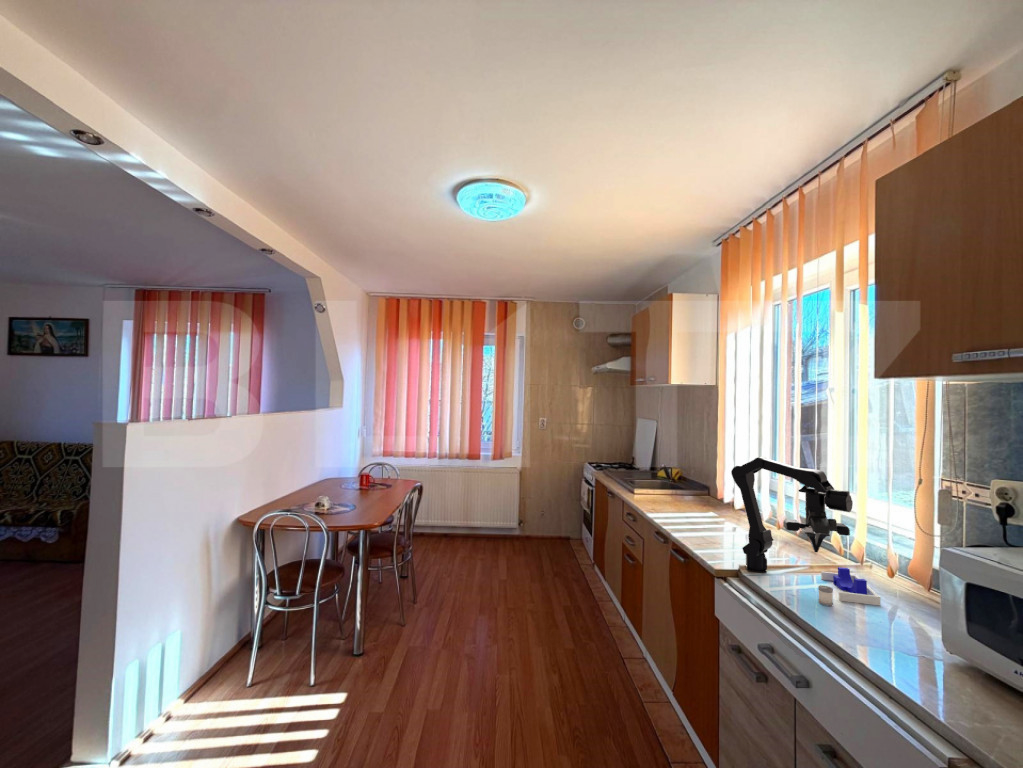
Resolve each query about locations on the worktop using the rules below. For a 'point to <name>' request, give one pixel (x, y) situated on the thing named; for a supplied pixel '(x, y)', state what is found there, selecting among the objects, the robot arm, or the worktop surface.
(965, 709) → the worktop surface
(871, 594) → the parts tray
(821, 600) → the grey cylinder
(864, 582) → the cable clip
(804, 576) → the worktop surface
